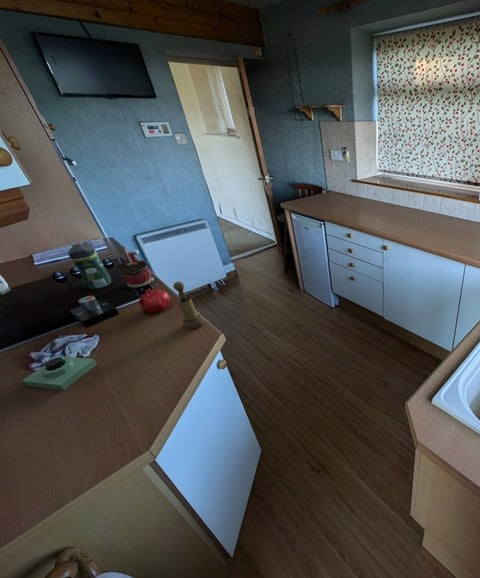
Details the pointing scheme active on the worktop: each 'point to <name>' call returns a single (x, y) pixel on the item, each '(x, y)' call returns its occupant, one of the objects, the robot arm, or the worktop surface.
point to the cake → (135, 270)
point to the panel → (95, 313)
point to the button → (54, 363)
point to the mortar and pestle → (188, 309)
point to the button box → (60, 374)
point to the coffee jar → (90, 266)
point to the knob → (89, 304)
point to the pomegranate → (154, 301)
